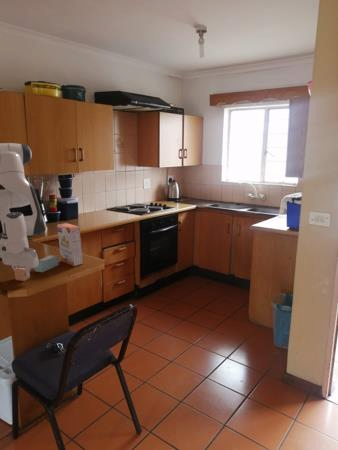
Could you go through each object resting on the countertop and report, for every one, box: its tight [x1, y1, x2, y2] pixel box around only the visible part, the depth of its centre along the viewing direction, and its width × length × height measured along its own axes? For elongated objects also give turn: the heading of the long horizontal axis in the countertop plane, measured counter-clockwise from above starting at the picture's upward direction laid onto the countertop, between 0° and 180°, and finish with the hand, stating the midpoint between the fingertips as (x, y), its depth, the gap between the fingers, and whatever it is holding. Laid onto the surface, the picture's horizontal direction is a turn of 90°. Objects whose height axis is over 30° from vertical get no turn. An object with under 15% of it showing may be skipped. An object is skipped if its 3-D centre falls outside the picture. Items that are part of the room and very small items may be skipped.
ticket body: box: [34, 254, 60, 273], centre depth 181 cm, size 5×12×5 cm, turn 156°
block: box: [13, 267, 31, 282], centre depth 167 cm, size 5×4×5 cm
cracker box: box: [56, 222, 84, 267], centre depth 186 cm, size 14×6×21 cm, turn 45°
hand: (22, 274), depth 167 cm, fingers closed on block, 5 cm apart
